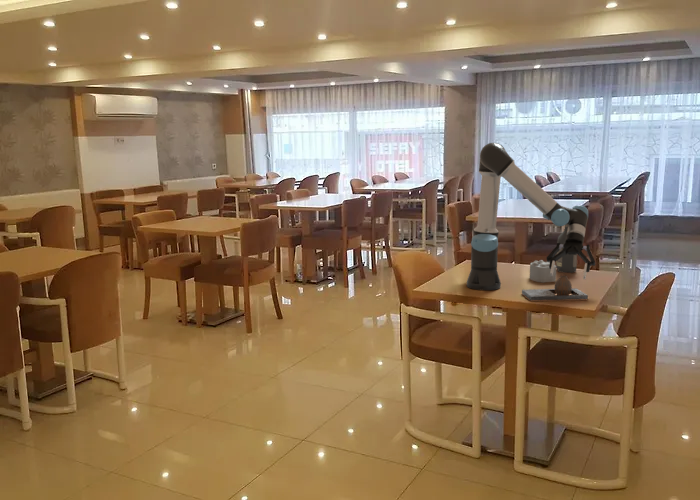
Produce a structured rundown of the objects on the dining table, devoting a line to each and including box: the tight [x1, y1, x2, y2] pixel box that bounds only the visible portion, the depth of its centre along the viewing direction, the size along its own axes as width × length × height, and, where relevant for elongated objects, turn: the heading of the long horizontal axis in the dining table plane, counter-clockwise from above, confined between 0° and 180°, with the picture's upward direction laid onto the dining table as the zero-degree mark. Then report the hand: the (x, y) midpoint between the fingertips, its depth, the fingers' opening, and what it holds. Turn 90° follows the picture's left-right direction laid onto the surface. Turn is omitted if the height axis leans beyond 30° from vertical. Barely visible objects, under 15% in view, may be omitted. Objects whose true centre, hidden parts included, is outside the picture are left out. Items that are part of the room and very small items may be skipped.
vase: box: [554, 274, 573, 295], centre depth 264 cm, size 7×7×9 cm
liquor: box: [555, 224, 578, 274], centre depth 313 cm, size 9×9×30 cm
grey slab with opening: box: [521, 288, 589, 302], centre depth 264 cm, size 24×12×2 cm, turn 92°
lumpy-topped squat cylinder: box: [529, 259, 557, 283], centre depth 297 cm, size 10×13×9 cm
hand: (567, 276), depth 268 cm, fingers open, 13 cm apart
